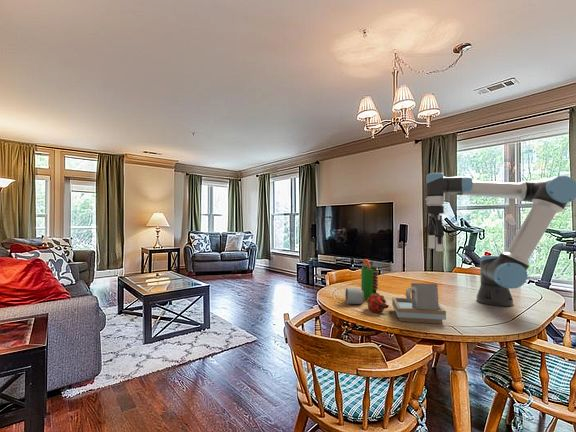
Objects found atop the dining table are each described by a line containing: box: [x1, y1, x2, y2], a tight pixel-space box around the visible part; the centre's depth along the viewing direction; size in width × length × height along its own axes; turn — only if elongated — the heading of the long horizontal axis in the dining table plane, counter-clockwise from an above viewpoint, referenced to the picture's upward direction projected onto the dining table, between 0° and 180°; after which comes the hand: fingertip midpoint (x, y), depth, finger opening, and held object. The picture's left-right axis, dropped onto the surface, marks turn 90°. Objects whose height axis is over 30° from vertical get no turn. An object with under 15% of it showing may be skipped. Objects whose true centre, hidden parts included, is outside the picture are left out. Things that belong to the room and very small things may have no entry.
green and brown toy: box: [360, 259, 379, 300], centre depth 165 cm, size 10×9×20 cm
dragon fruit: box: [366, 292, 390, 314], centre depth 141 cm, size 8×8×12 cm
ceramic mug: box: [344, 287, 365, 305], centre depth 155 cm, size 11×8×8 cm
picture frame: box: [391, 297, 447, 324], centre depth 133 cm, size 18×18×6 cm
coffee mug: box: [405, 282, 440, 310], centre depth 128 cm, size 13×10×10 cm
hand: (435, 249), depth 150 cm, fingers open, 13 cm apart
